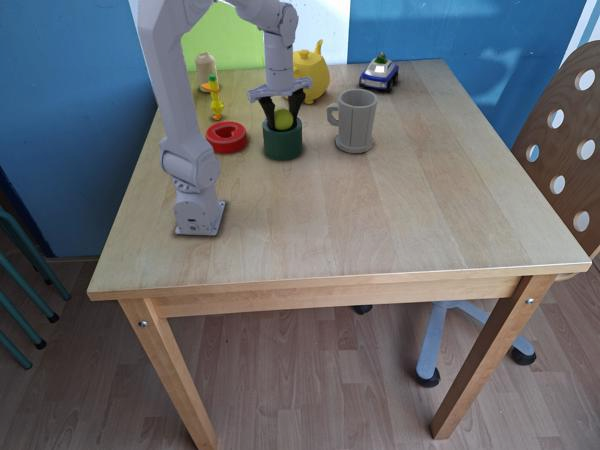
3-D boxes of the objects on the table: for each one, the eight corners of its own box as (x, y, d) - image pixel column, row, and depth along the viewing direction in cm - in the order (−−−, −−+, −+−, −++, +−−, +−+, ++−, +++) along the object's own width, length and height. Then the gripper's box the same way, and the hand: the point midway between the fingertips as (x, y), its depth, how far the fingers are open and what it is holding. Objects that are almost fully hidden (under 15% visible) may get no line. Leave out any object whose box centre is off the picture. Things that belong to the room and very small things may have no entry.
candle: (196, 91, 123) (190, 57, 116) (205, 82, 127) (199, 49, 120) (214, 93, 122) (208, 59, 115) (222, 85, 125) (217, 51, 119)
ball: (297, 131, 96) (296, 111, 93) (277, 137, 95) (275, 117, 91) (287, 121, 99) (287, 102, 96) (268, 126, 98) (266, 107, 94)
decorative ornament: (207, 134, 106) (204, 123, 104) (245, 129, 107) (243, 118, 105) (208, 155, 99) (206, 144, 97) (249, 150, 101) (247, 139, 98)
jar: (301, 161, 97) (300, 134, 93) (262, 160, 98) (259, 133, 93) (303, 139, 104) (303, 114, 99) (266, 138, 104) (264, 113, 99)
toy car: (355, 90, 122) (358, 57, 115) (370, 73, 130) (373, 42, 123) (386, 96, 119) (391, 63, 112) (399, 79, 127) (404, 47, 120)
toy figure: (202, 117, 112) (194, 73, 104) (211, 111, 114) (204, 68, 106) (222, 124, 110) (215, 79, 101) (231, 118, 112) (224, 74, 103)
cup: (336, 158, 98) (338, 111, 90) (324, 137, 104) (325, 92, 96) (378, 150, 100) (384, 104, 92) (363, 131, 106) (368, 85, 98)
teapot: (341, 83, 125) (343, 41, 116) (311, 114, 112) (311, 69, 104) (300, 75, 130) (300, 33, 121) (267, 104, 117) (264, 59, 108)
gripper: (253, 80, 82) (259, 140, 91) (319, 65, 86) (318, 124, 96) (240, 66, 86) (247, 125, 96) (304, 53, 91) (304, 110, 100)
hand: (282, 123), depth 96 cm, fingers closed on ball, 5 cm apart
